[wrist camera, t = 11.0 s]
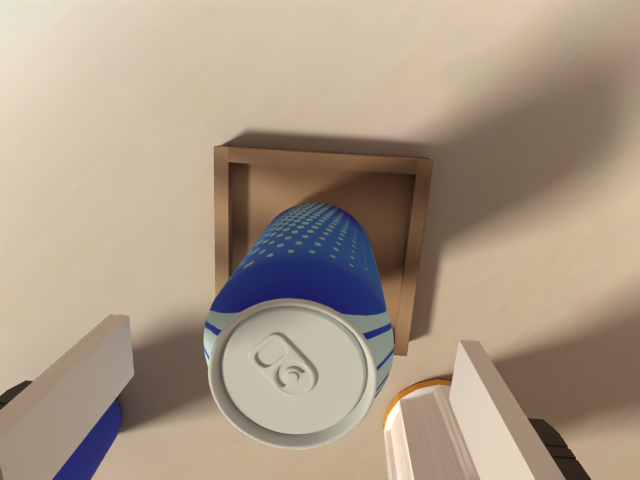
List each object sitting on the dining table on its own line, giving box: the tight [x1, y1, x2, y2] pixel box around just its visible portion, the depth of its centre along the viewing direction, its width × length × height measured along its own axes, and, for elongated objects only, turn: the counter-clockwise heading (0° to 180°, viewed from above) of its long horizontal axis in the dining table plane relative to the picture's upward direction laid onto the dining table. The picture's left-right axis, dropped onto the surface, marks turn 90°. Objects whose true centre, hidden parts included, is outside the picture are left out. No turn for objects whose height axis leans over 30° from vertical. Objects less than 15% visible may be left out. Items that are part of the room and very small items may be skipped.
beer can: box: [204, 203, 394, 449], centre depth 23 cm, size 8×8×16 cm
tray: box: [214, 145, 433, 356], centre depth 31 cm, size 15×15×2 cm
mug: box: [52, 400, 121, 480], centre depth 32 cm, size 8×12×10 cm
